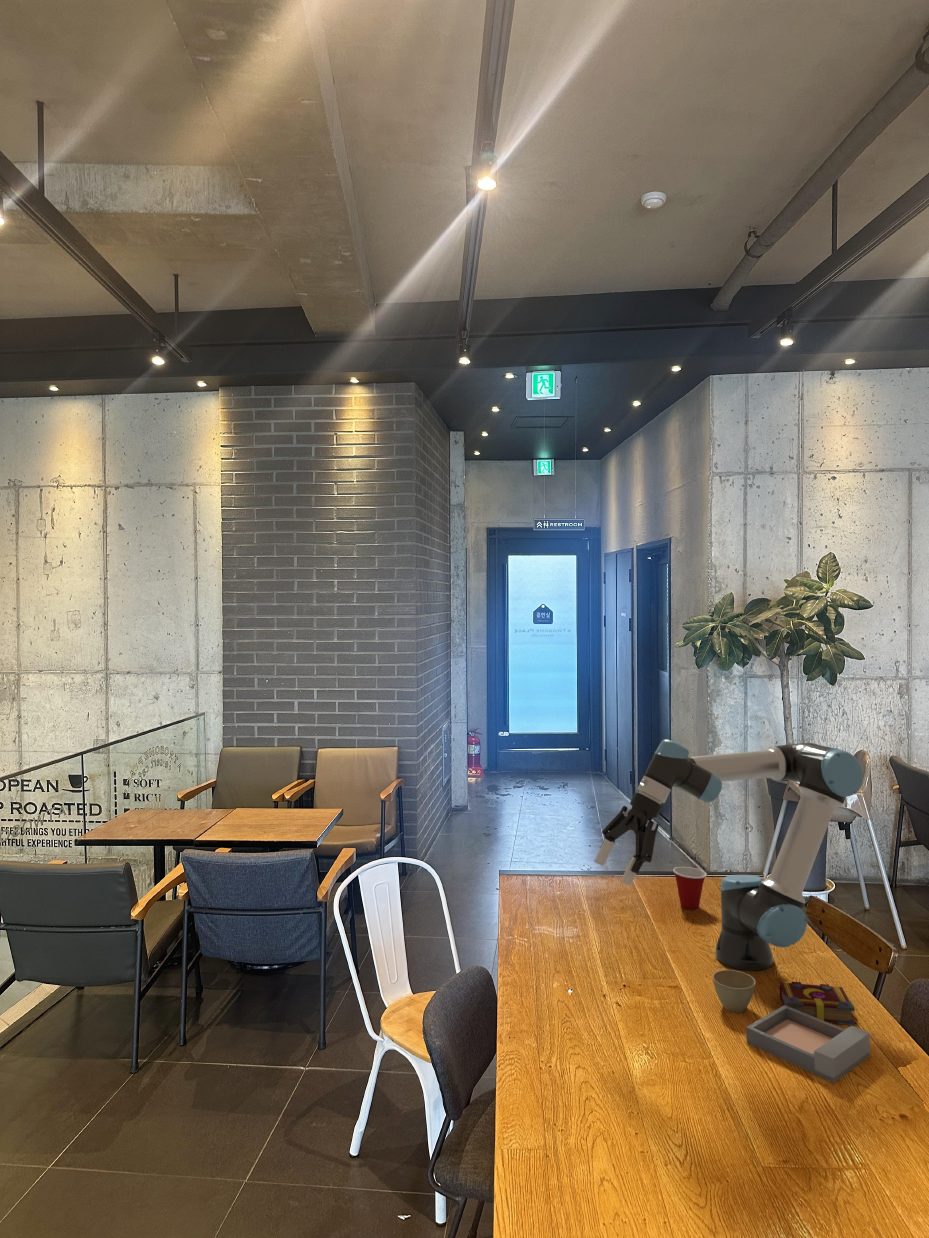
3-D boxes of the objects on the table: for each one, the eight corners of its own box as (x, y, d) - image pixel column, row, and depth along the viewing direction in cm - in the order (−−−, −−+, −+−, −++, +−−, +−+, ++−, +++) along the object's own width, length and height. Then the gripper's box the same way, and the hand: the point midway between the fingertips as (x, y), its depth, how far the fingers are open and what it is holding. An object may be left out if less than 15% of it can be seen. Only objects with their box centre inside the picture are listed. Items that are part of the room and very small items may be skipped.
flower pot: (711, 1013, 191) (711, 984, 191) (714, 995, 200) (714, 966, 200) (755, 1020, 187) (754, 990, 187) (756, 1001, 197) (756, 973, 197)
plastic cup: (711, 912, 256) (711, 875, 256) (678, 912, 256) (677, 876, 256) (702, 900, 267) (701, 865, 267) (670, 900, 267) (669, 865, 267)
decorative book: (778, 998, 199) (778, 978, 199) (847, 1004, 195) (847, 984, 195) (786, 1020, 188) (786, 1000, 188) (860, 1027, 184) (859, 1006, 184)
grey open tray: (784, 1019, 188) (784, 998, 188) (870, 1055, 172) (869, 1032, 172) (746, 1042, 178) (746, 1020, 178) (833, 1082, 162) (833, 1058, 162)
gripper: (613, 779, 211) (577, 850, 208) (666, 805, 187) (626, 886, 185) (634, 791, 213) (598, 861, 211) (689, 818, 190) (649, 898, 187)
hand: (611, 873), depth 198 cm, fingers open, 13 cm apart
